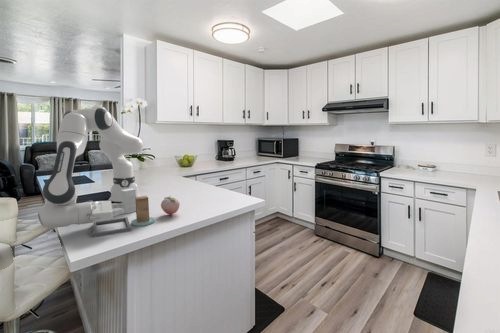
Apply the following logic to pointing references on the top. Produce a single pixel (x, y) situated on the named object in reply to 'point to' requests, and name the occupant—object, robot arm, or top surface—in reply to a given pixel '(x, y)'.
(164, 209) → the decorative fruit
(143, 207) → the walnut block
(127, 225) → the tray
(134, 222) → the teal round disc
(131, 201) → the skincare box
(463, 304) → the top surface
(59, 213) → the robot arm
